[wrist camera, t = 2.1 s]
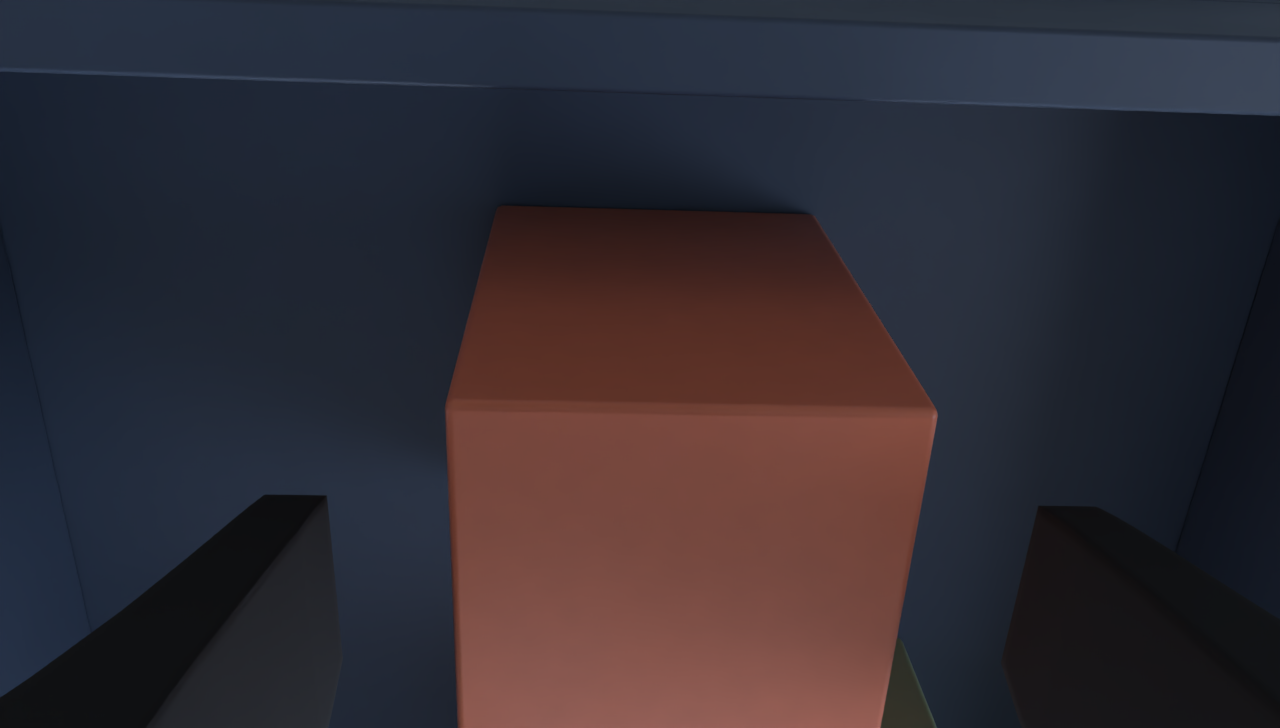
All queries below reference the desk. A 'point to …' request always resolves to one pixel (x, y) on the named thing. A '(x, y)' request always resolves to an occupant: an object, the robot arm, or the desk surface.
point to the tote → (621, 179)
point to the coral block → (677, 476)
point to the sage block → (905, 696)
